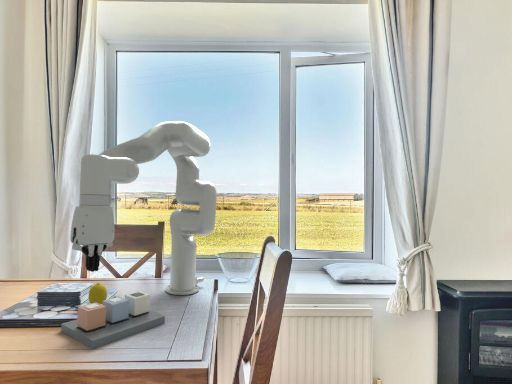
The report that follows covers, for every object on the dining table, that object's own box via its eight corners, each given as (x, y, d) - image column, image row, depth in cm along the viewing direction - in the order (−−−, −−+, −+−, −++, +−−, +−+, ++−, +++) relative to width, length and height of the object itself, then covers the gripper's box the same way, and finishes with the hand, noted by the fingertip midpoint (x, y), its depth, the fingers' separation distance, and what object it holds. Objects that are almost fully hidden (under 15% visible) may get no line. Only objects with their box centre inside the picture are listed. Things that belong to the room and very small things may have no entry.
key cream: (138, 307, 108) (139, 290, 108) (148, 311, 105) (149, 294, 105) (124, 311, 104) (124, 294, 104) (134, 315, 101) (135, 297, 101)
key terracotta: (95, 320, 97) (95, 301, 97) (105, 325, 94) (106, 305, 94) (77, 325, 93) (77, 306, 93) (87, 330, 90) (87, 310, 90)
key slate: (118, 313, 103) (118, 295, 103) (128, 317, 100) (128, 299, 100) (102, 318, 99) (102, 299, 99) (112, 322, 96) (112, 303, 96)
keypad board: (132, 309, 113) (132, 303, 113) (164, 322, 103) (164, 316, 103) (61, 331, 95) (61, 323, 95) (92, 348, 86) (92, 340, 86)
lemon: (99, 311, 111) (100, 286, 111) (84, 309, 112) (85, 284, 112) (110, 305, 116) (111, 281, 116) (95, 303, 117) (96, 280, 117)
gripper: (113, 200, 101) (110, 264, 101) (59, 200, 89) (56, 272, 89) (128, 202, 97) (125, 268, 97) (73, 202, 85) (70, 278, 85)
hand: (92, 270), depth 93 cm, fingers closed
